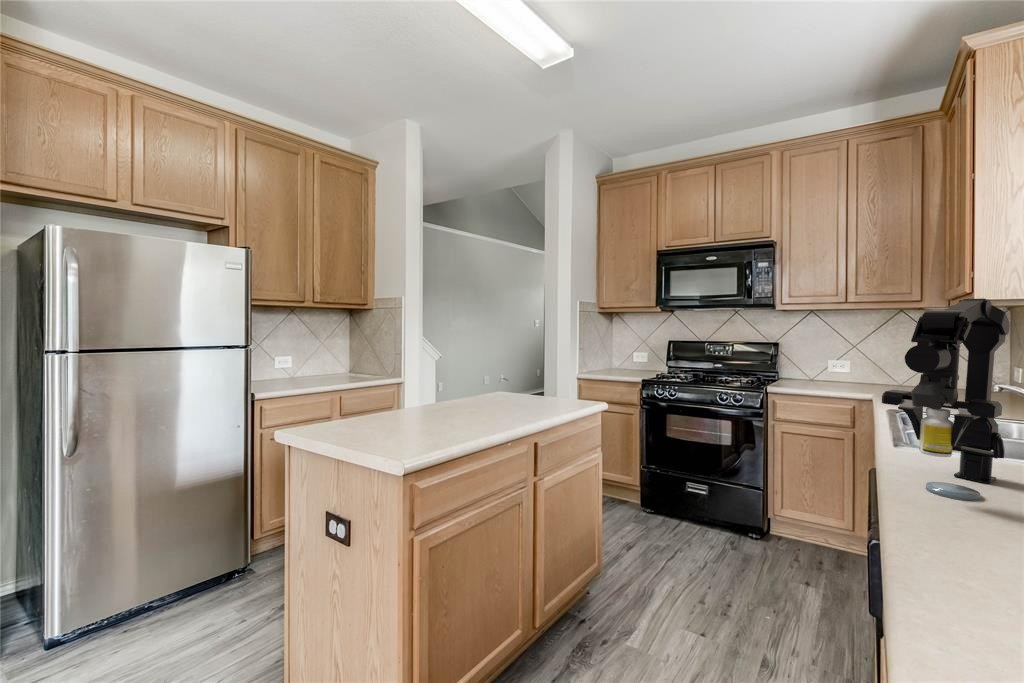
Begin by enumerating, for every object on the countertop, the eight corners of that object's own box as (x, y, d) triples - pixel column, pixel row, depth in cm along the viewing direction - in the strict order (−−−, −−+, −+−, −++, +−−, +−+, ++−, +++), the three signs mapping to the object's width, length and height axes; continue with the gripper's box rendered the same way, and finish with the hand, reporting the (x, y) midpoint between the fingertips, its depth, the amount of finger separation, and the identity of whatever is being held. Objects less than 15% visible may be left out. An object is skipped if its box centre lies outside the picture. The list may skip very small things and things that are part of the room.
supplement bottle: (958, 458, 103) (961, 412, 102) (928, 457, 104) (931, 410, 103) (941, 451, 108) (944, 407, 108) (913, 450, 109) (915, 406, 109)
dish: (933, 483, 116) (933, 478, 116) (985, 495, 109) (985, 490, 109) (919, 490, 111) (919, 485, 111) (972, 503, 104) (973, 498, 104)
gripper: (873, 368, 108) (869, 438, 109) (988, 378, 93) (983, 459, 94) (893, 365, 114) (889, 431, 115) (1005, 374, 99) (999, 450, 100)
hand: (935, 442), depth 106 cm, fingers closed on supplement bottle, 5 cm apart
